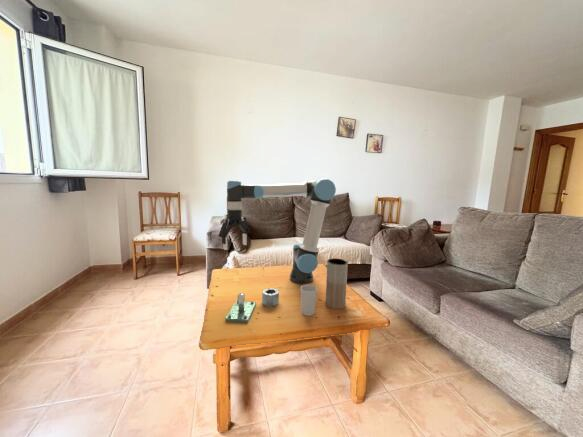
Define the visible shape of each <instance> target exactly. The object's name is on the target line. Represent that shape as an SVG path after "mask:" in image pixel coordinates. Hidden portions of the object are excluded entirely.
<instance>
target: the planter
mask: <svg viewBox="0 0 583 437" xmlns="http://www.w3.org/2000/svg"><path fill="white" fill-rule="evenodd" d="M326 262H327V263H326V284H325V285H326V286H325V305H326V307H328V308H330V309H334V310H339V309H340V310H341V309H343V308H345V307H346V301H347V287H348V286H347V281H348V264H349V263H348V261H347V260H346V259H343V258H338V257H337V258H329V259H328V260H327V261H326Z"/></svg>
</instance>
